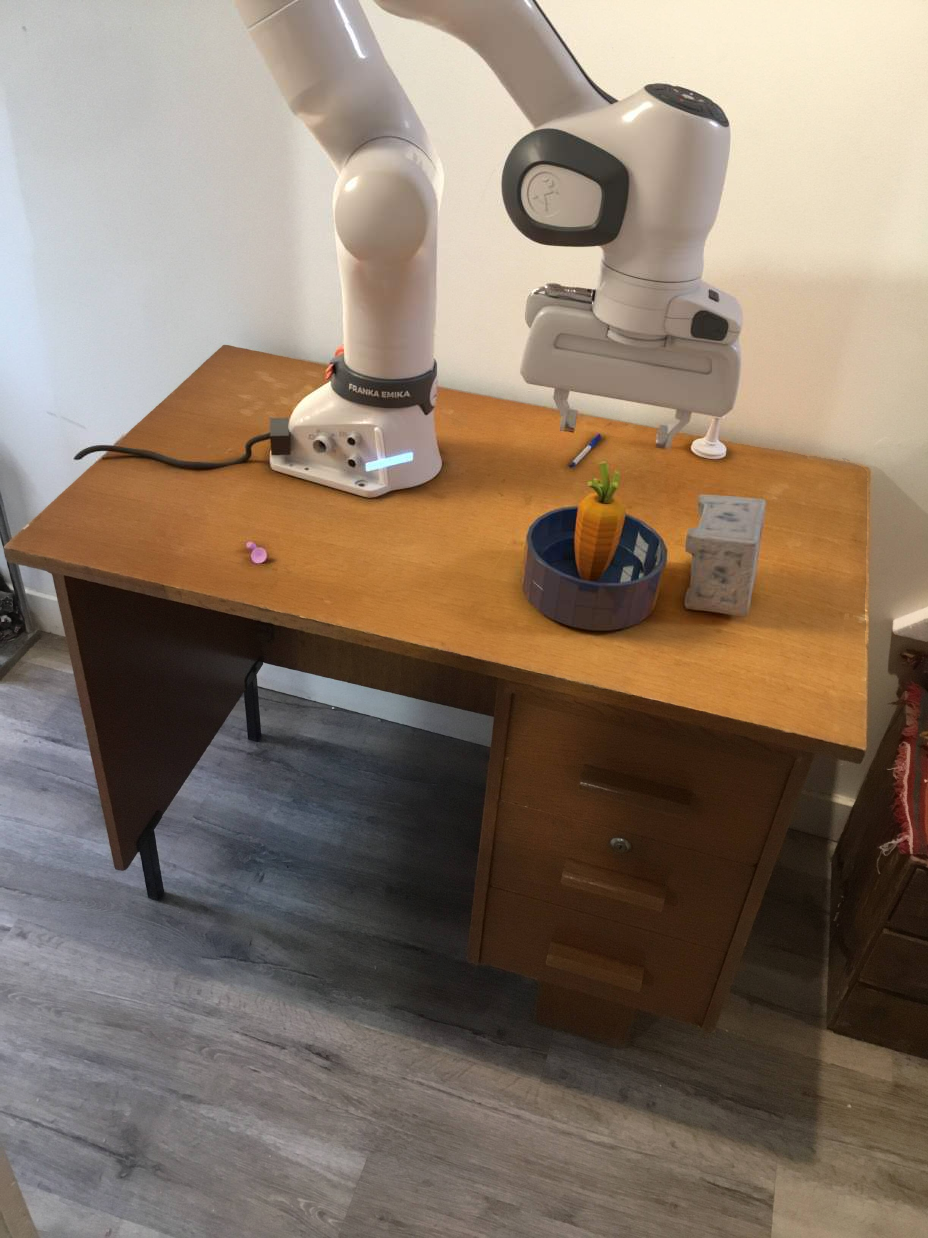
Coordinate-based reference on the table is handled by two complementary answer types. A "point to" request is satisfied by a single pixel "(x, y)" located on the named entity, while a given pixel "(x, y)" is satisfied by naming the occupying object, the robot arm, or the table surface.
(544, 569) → the blue pet bowl
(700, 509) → the incense holder
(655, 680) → the table surface
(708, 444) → the chess piece
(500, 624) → the table surface
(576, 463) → the ballpoint pen
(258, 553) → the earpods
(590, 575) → the carrot
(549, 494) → the table surface
